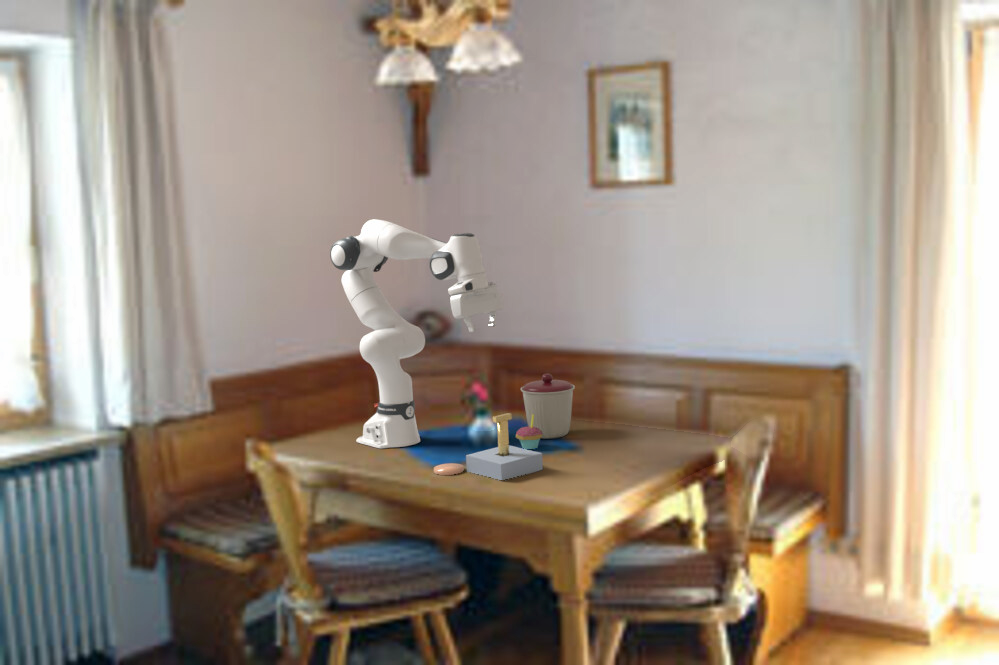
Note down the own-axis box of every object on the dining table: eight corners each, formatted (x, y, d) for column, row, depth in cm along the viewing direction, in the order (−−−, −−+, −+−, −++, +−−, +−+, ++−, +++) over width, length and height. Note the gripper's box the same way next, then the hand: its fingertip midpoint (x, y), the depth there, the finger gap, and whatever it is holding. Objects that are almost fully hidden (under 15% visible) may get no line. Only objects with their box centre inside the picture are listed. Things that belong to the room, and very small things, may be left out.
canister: (577, 428, 356) (575, 368, 353) (575, 441, 338) (573, 377, 335) (525, 429, 358) (522, 369, 355) (520, 442, 340) (517, 379, 337)
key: (493, 471, 307) (490, 416, 305) (508, 467, 311) (506, 412, 308) (500, 473, 304) (497, 417, 302) (515, 469, 308) (513, 414, 306)
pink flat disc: (427, 473, 309) (427, 469, 309) (447, 465, 316) (447, 462, 316) (450, 477, 303) (450, 473, 303) (470, 469, 311) (469, 465, 310)
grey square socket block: (466, 471, 309) (466, 455, 308) (507, 460, 319) (506, 444, 318) (501, 481, 296) (500, 464, 296) (542, 469, 307) (542, 453, 306)
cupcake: (547, 446, 334) (546, 409, 332) (535, 452, 327) (533, 415, 325) (524, 444, 338) (522, 407, 337) (511, 450, 331) (509, 413, 329)
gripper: (487, 282, 327) (496, 325, 327) (443, 290, 312) (453, 335, 312) (502, 279, 323) (511, 322, 323) (459, 286, 308) (468, 332, 308)
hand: (482, 329), depth 318 cm, fingers open, 8 cm apart
